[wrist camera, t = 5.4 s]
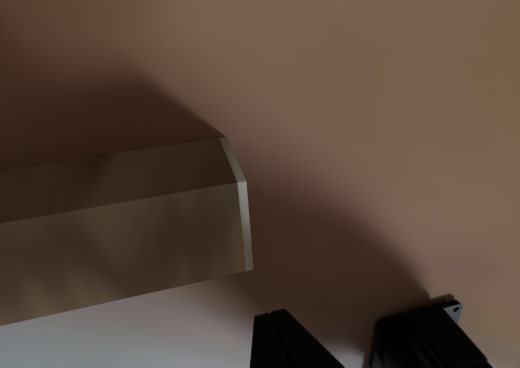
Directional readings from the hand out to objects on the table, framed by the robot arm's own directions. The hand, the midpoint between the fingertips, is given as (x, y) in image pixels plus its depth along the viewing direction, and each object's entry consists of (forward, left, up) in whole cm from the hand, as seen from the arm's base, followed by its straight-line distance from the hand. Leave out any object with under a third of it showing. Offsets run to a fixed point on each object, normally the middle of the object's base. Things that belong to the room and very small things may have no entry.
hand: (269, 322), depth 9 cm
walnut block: (0, 0, -6) cm, 6 cm away
